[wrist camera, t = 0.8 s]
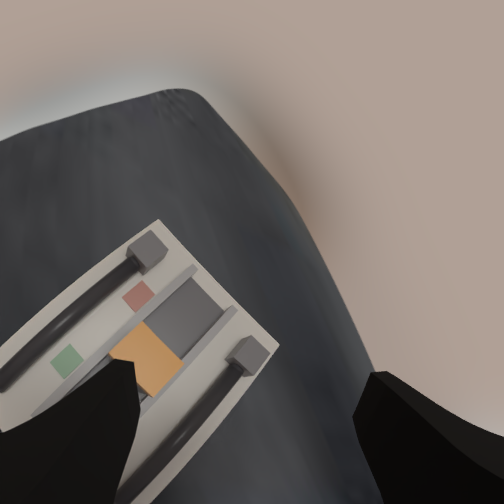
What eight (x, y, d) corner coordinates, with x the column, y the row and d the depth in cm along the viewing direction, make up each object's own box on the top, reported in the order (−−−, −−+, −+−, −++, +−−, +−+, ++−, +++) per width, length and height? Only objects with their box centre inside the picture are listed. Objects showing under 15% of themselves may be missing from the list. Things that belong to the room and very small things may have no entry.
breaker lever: (142, 395, 16) (153, 397, 13) (106, 359, 16) (108, 352, 13) (167, 368, 18) (184, 363, 15) (133, 334, 18) (142, 320, 15)
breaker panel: (117, 524, 12) (122, 542, 9) (-26, 382, 11) (-43, 380, 9) (269, 347, 24) (291, 340, 22) (154, 228, 24) (163, 208, 22)
